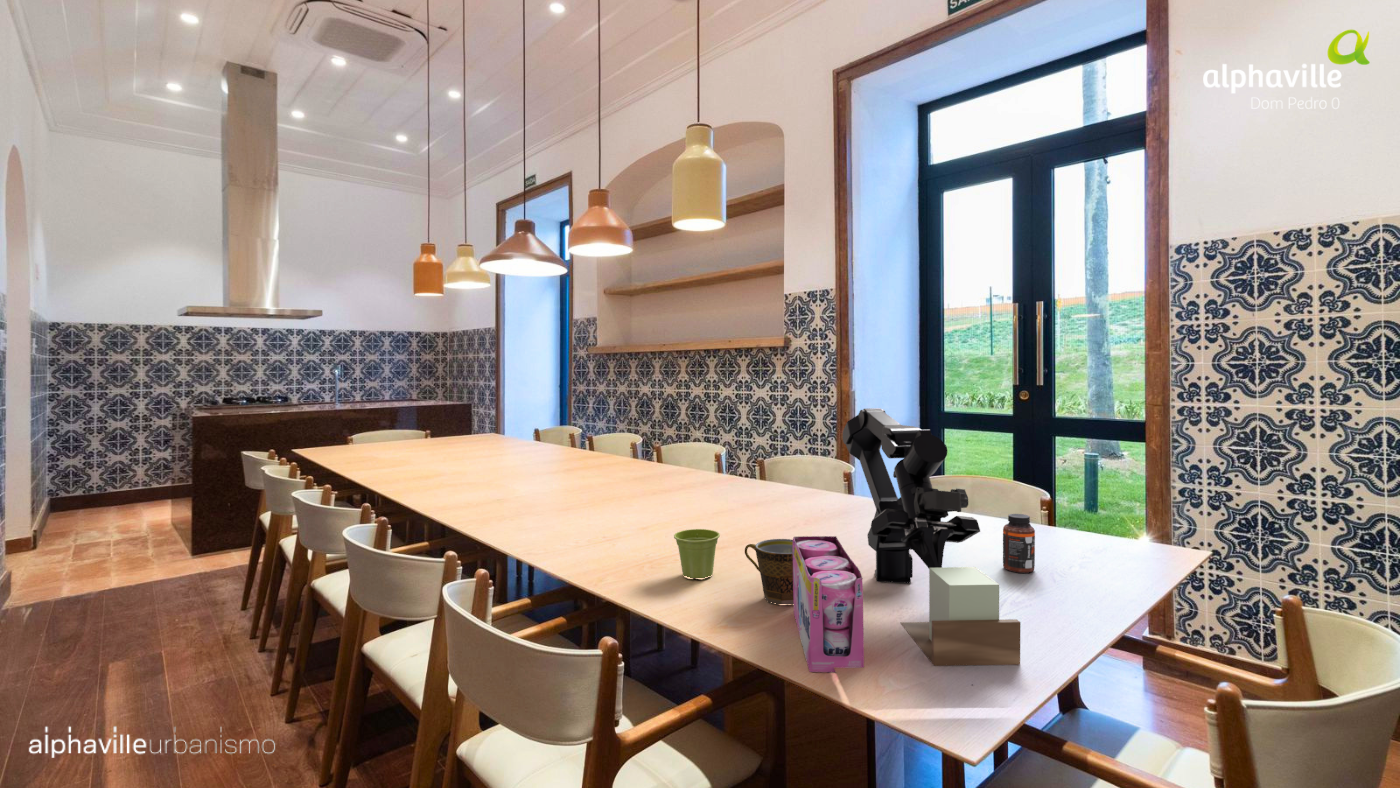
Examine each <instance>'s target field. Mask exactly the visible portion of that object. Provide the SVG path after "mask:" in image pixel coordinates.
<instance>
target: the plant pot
mask: <svg viewBox="0 0 1400 788" xmlns="http://www.w3.org/2000/svg"><path fill="white" fill-rule="evenodd" d="M720 536H721V534H720V533H719V532H718V531H716V530H714V529H713V530H712V529H706V528H693V529H692V528H691V529H685V530H680V531H677V532H675V533H674V534H673V538H674V540H675V541H676V545H677V547H678V553H679V559H680V567H681V570H682V571H681V572H682V576H683V575H684V576H687V577H690V578H705V577H708V576H711V575H712V576H713V574H714V566H715V565H714V564H715V555H716V548H717V544H718V539H719V538H720ZM712 576H711V577H712Z"/></svg>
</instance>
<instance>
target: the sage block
mask: <svg viewBox="0 0 1400 788" xmlns="http://www.w3.org/2000/svg"><path fill="white" fill-rule="evenodd" d="M928 571H929V572H928V574H929V576H928V577H929V578H928V579H929V581H928V583H929V585H928V589H929V590H928V592H929V593H928V594H929V595H928V597H929V599H928V600H929V601H928V603H929V605H928V606H929V610H928V611H929V612H928V613H929V615H928V616H929V617H928V620H929V621H928V622H929V639H930V640H931V641H932V621H942V620H1000V584H999V583H998V582H997V581H995V580H994V579H992V578H991V577H990V576H988V575H987V574H986V573H984V572H982V571H981V570H980V569H978V568H977V567H976V566H964V567H963V566H961V567H959V566H957V567H956V566H953V567H951V566H950V567H949V566H948V567H942V568H928Z"/></svg>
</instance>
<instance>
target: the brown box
mask: <svg viewBox="0 0 1400 788" xmlns="http://www.w3.org/2000/svg"><path fill="white" fill-rule="evenodd" d="M900 625H901V626H902V627H903V628H904V630H905V631H906V632H907V634H908V635H909V636H910V637H911V638H912V640H913V641H914V642H915V643H916V645H917V646H918V647H919V649H920V650H921V651H922V652H923V654H924V656H926V658H927V659H928V660H929V661H930V663H931V664H932V665H933V666H934V667H938V666H940V667H941V666H944V667H945V666H950V667H951V666H952V667H953V666H1002V665H1006V666H1009V665H1011V666H1012V665H1017V666H1018V665H1021V621H1019V619H1016V618H1014V619H999V620H942V621H932V641H931V640H930V639H929V621H917V622H916V621H913V622H910V621H909V622H900Z"/></svg>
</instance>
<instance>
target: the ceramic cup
mask: <svg viewBox="0 0 1400 788" xmlns="http://www.w3.org/2000/svg"><path fill="white" fill-rule="evenodd" d="M792 546H793V539H790V538H789V539H788V538H773V539H771V538H770V539H765V540H760V541H758V542H756V544H755V543H749V544H747V545H745V548H744V555H745V557H746V558H747V560H749V561H750V562H751V564H752V565H754V567H755V568H756V570H757V571H758V572H759V574H760V579H761V584H762V590H763V597H764V599H765V598H766V599H765V601H766V602H767V601H768V602H772V603H776V604H794V599H793V548H792ZM749 548H751V549H753V550H754V551H755V555H756V560H757V562H755V560H754V559H752V557H751V556H750V555H749V553H748V550H749ZM768 602H767V603H768Z"/></svg>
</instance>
